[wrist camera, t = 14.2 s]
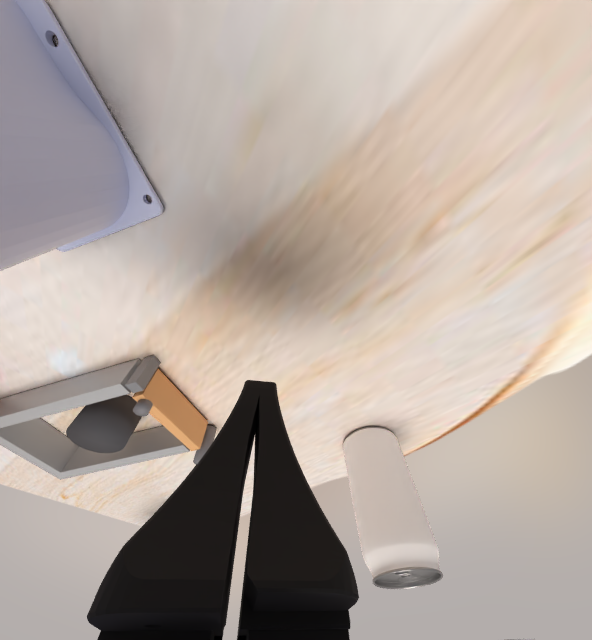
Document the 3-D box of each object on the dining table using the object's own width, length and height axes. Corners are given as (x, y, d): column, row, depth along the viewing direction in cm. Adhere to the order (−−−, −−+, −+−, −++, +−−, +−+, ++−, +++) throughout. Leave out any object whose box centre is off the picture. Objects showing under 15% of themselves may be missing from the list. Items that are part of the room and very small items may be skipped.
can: (354, 460, 33) (383, 594, 23) (333, 436, 30) (355, 578, 20) (402, 445, 31) (456, 582, 21) (385, 417, 28) (438, 562, 18)
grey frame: (-1, 398, 25) (-35, 428, 23) (153, 354, 23) (134, 381, 20) (79, 452, 31) (59, 481, 28) (210, 422, 28) (202, 450, 25)
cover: (147, 372, 23) (124, 406, 20) (160, 367, 23) (139, 401, 20) (207, 434, 29) (197, 468, 26) (218, 431, 29) (209, 465, 25)
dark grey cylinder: (80, 396, 25) (53, 428, 23) (123, 386, 25) (101, 417, 22) (113, 425, 28) (92, 456, 25) (153, 416, 27) (136, 448, 25)
